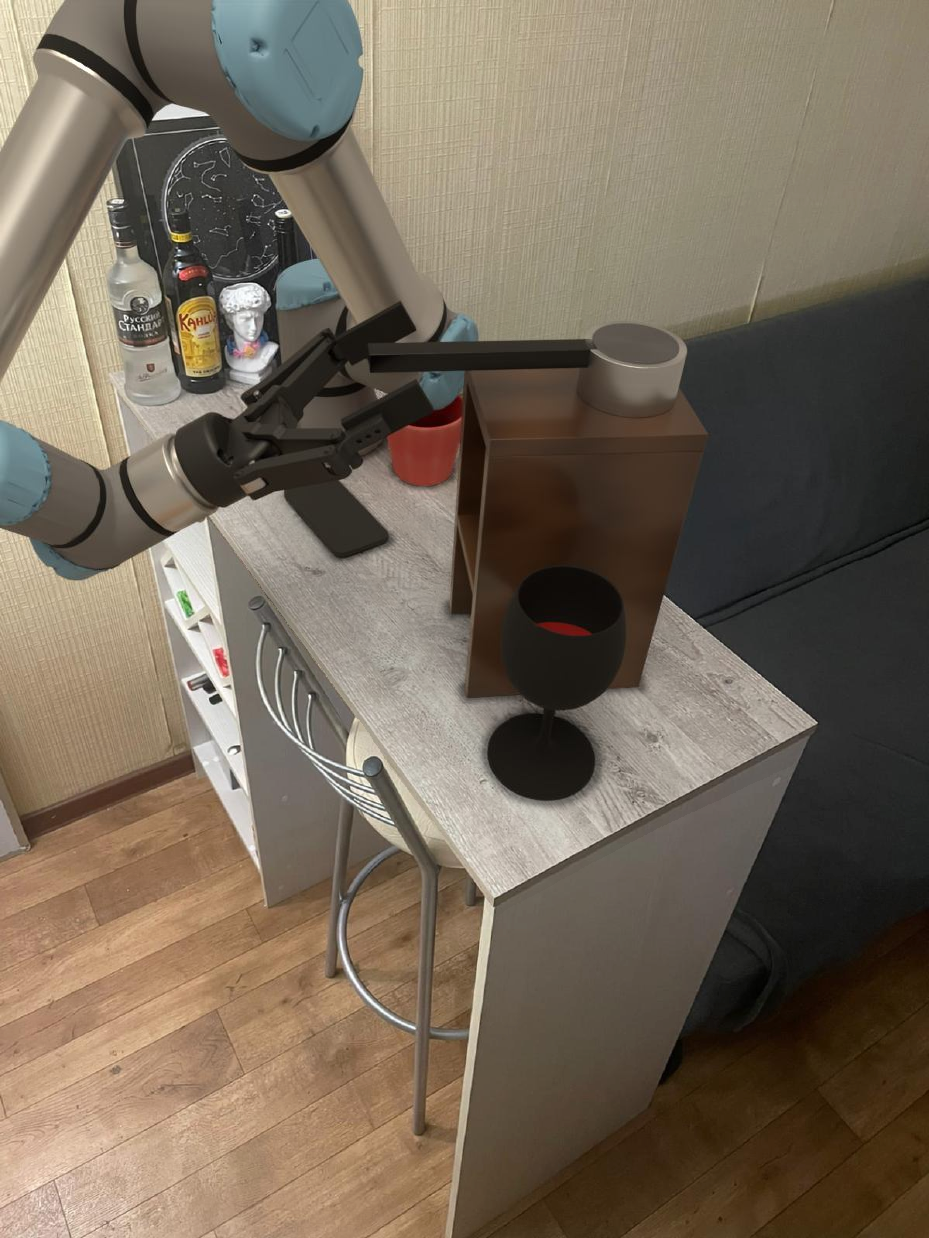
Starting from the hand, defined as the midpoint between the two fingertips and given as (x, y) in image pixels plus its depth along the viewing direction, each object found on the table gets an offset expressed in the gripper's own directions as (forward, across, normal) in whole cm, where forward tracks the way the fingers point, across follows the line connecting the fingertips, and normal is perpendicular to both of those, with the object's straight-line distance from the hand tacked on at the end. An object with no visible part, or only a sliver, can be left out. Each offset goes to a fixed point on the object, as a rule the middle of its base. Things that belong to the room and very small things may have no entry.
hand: (416, 352), depth 73 cm
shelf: (-5, 0, -36) cm, 37 cm away
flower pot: (-13, -34, -32) cm, 48 cm away
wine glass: (-7, +15, -35) cm, 39 cm away
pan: (+6, 0, -8) cm, 10 cm away
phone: (-23, -24, -26) cm, 42 cm away
